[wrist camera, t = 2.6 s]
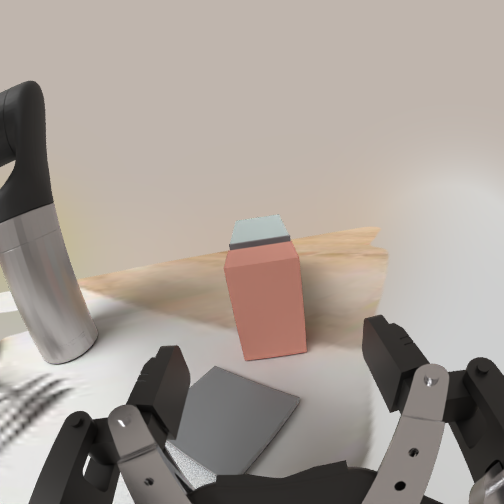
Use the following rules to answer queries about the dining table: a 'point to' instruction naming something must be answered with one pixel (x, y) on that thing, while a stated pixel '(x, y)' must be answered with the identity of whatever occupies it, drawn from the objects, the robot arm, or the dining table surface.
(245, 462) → the coaster
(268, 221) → the pale green block
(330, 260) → the dining table surface
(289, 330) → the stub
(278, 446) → the dining table surface
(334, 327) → the dining table surface
